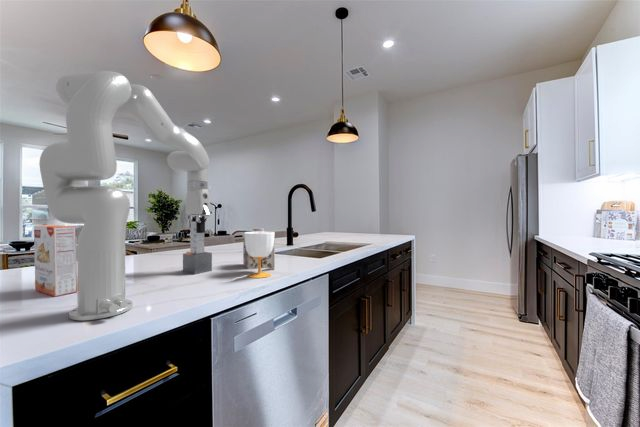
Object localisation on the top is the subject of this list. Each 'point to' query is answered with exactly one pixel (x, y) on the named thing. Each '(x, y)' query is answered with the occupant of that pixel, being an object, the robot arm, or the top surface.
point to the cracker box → (55, 259)
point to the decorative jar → (253, 263)
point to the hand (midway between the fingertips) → (197, 232)
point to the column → (196, 240)
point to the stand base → (197, 263)
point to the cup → (259, 248)
